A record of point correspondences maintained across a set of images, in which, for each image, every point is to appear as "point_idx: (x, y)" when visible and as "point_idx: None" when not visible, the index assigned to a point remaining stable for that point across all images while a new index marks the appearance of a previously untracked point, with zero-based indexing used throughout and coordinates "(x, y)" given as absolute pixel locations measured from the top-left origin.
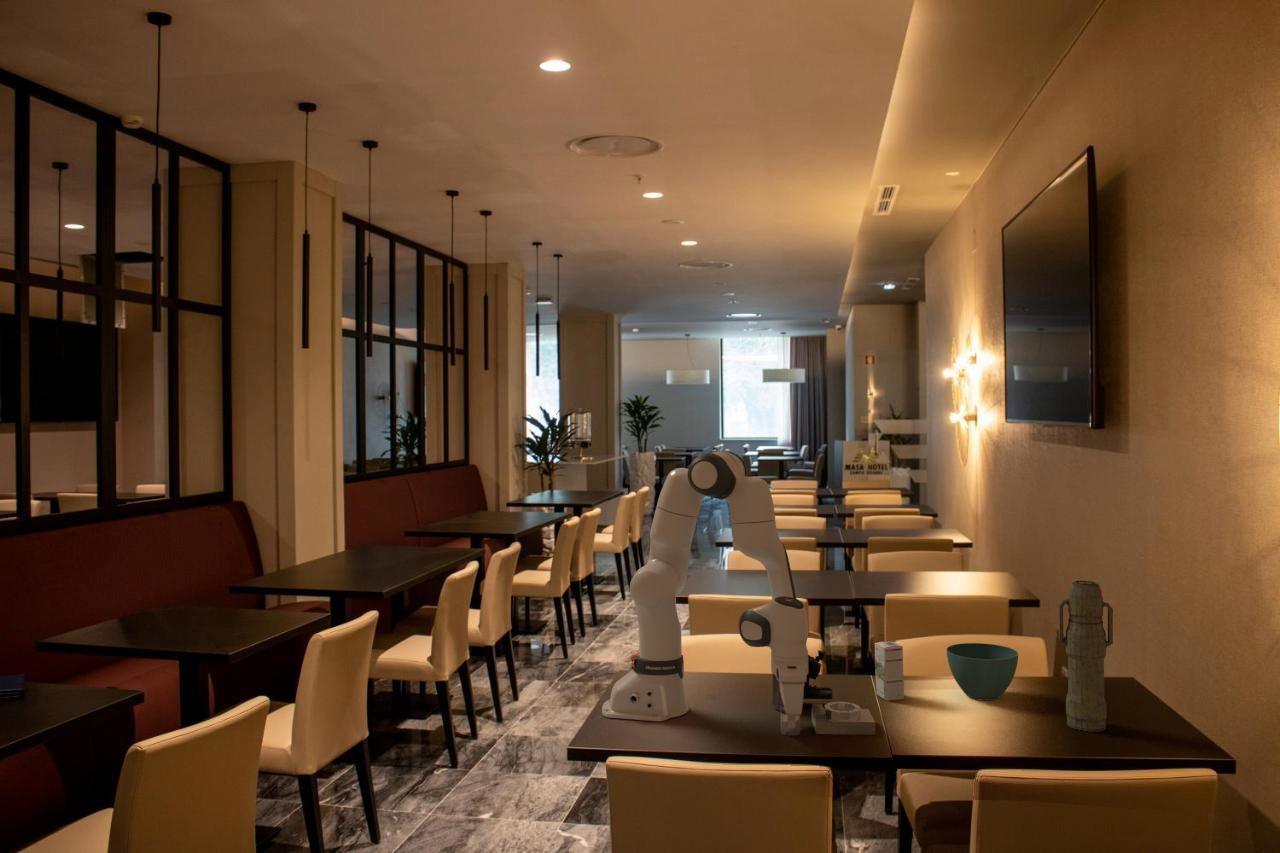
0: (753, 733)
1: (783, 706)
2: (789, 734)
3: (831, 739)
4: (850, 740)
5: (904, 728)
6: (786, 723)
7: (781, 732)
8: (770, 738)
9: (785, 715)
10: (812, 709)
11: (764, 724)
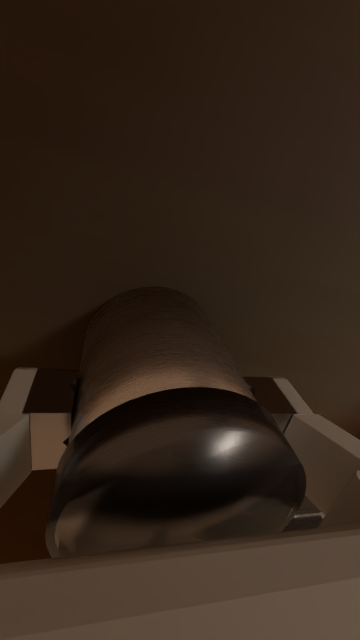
0: (168, 3)
1: (249, 468)
2: (85, 336)
3: (22, 508)
4: (14, 558)
5: None
6: (90, 368)
7: (140, 290)
8: (8, 164)
9: (90, 420)
10: (311, 521)
11: (353, 203)
